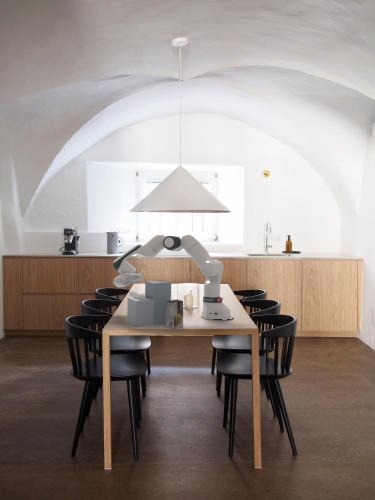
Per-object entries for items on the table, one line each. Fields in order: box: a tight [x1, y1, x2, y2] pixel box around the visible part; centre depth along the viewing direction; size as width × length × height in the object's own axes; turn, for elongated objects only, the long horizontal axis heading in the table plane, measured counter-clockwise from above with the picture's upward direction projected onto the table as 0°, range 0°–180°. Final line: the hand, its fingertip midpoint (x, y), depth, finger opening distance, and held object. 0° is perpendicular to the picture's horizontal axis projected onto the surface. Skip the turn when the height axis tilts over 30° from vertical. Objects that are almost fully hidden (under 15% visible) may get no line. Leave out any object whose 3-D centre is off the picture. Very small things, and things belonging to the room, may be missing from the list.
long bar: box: [129, 291, 145, 300], centre depth 312 cm, size 20×4×4 cm, turn 28°
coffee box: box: [165, 299, 184, 329], centre depth 299 cm, size 9×6×16 cm
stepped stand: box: [126, 279, 172, 327], centre depth 310 cm, size 14×24×26 cm, turn 118°
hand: (132, 277), depth 326 cm, fingers open, 8 cm apart
